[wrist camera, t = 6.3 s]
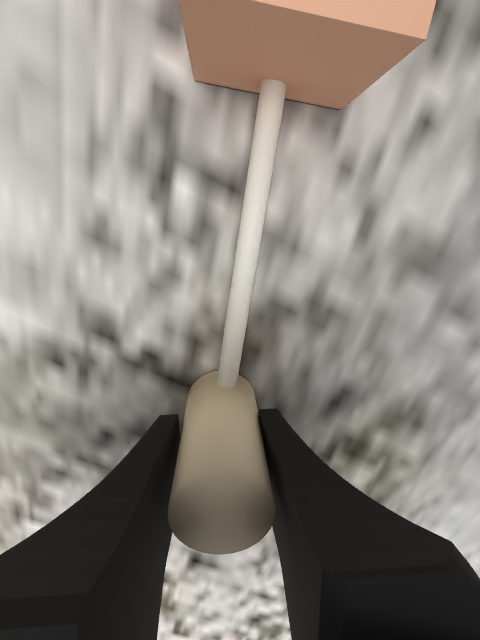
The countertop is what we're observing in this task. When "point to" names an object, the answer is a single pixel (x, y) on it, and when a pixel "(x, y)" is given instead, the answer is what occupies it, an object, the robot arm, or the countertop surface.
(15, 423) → the countertop surface
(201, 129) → the countertop surface
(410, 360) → the countertop surface
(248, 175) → the cord block
